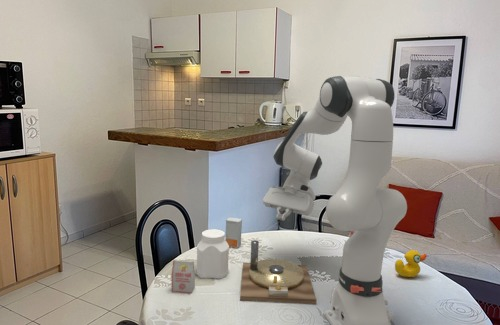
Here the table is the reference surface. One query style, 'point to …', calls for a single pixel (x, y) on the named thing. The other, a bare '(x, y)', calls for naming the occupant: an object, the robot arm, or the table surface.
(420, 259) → the duckling
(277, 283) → the crank wheel
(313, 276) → the table surface
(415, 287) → the table surface
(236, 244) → the skincare box
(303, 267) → the wooden wheel stand
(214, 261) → the jar
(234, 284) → the table surface
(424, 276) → the table surface
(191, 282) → the small printed food carton
